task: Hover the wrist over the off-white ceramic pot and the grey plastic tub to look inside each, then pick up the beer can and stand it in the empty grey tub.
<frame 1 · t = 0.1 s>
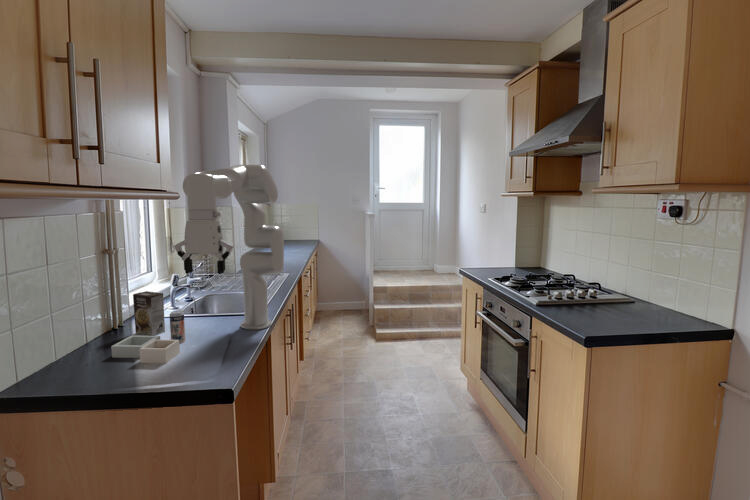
hand: (205, 273, 117), 31 cm above the counter, tool pointing down, fingers open, 9 cm apart
walnut block: (160, 357, 129), point 1 cm above the counter, touching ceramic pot
grey tub: (137, 353, 134), on the counter
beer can: (178, 344, 144), on the counter
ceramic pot: (160, 360, 129), on the counter
coffee box: (150, 333, 155), on the counter
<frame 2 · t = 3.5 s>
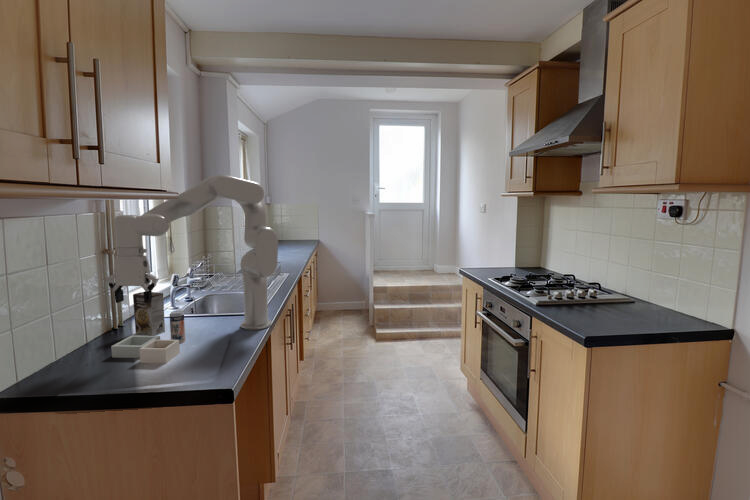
hand: (133, 302, 132), 18 cm above the counter, tool pointing down, fingers open, 9 cm apart
nothing on the counter moved.
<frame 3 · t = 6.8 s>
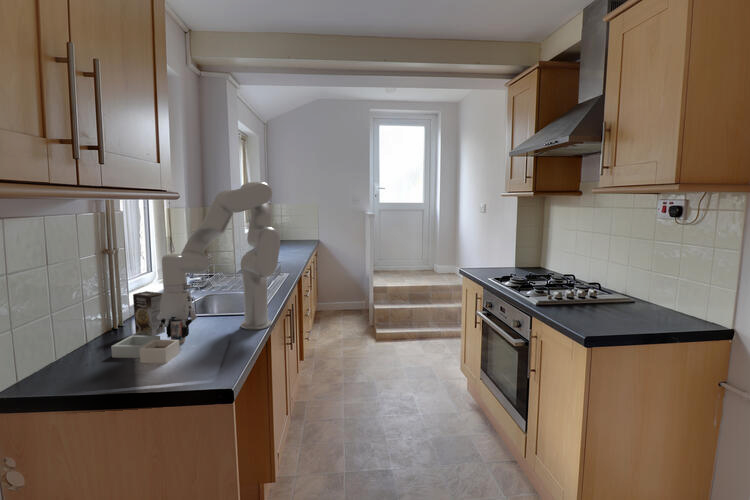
hand: (177, 335, 143), 3 cm above the counter, tool pointing down, fingers closed on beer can, 4 cm apart
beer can: (178, 344, 144), on the counter, touching gripper
everything else where it was.
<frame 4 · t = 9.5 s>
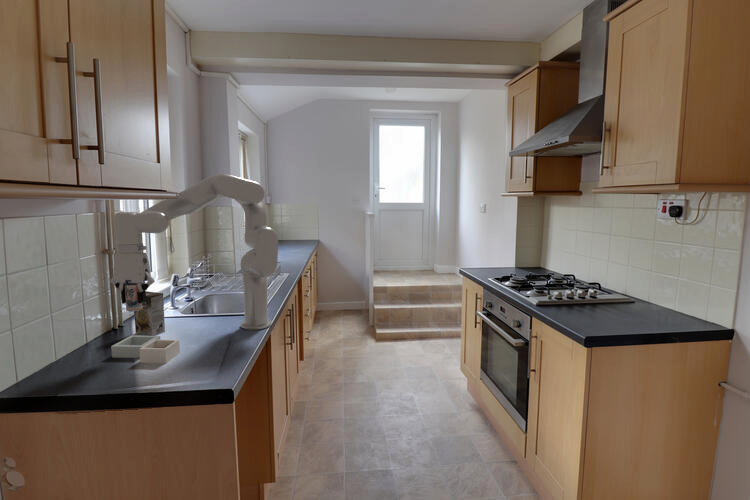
hand: (133, 301, 132), 18 cm above the counter, tool pointing down, fingers closed on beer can, 4 cm apart
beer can: (134, 310, 132), point 15 cm above the counter, touching gripper
everything else where it was.
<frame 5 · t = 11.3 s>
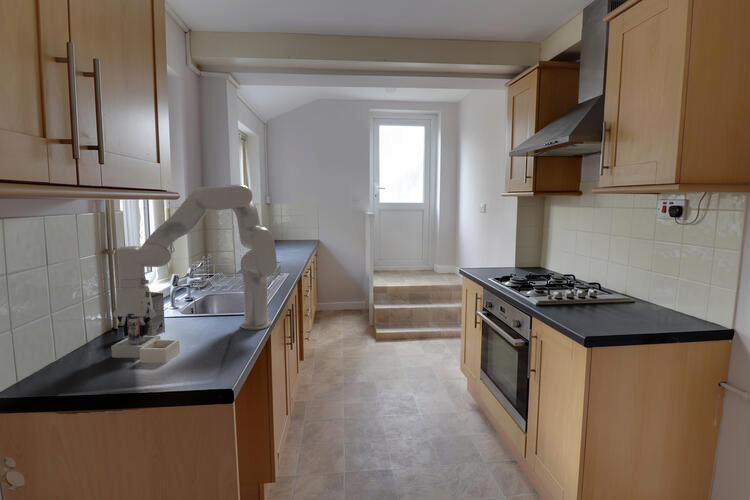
hand: (136, 334, 133), 7 cm above the counter, tool pointing down, fingers closed on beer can, 4 cm apart
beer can: (136, 343, 133), point 4 cm above the counter, touching gripper
everything else where it was.
when the fingers open (5 cm above the counter, at t = 12.6 s): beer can drops 1 cm, resting on grey tub.
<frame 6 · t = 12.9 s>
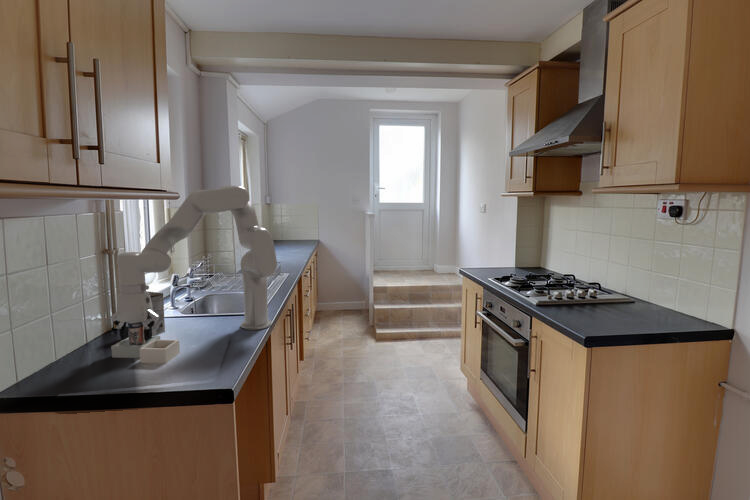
hand: (136, 338, 133), 5 cm above the counter, tool pointing down, fingers open, 7 cm apart
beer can: (138, 352, 134), resting on grey tub
everything else where it was.
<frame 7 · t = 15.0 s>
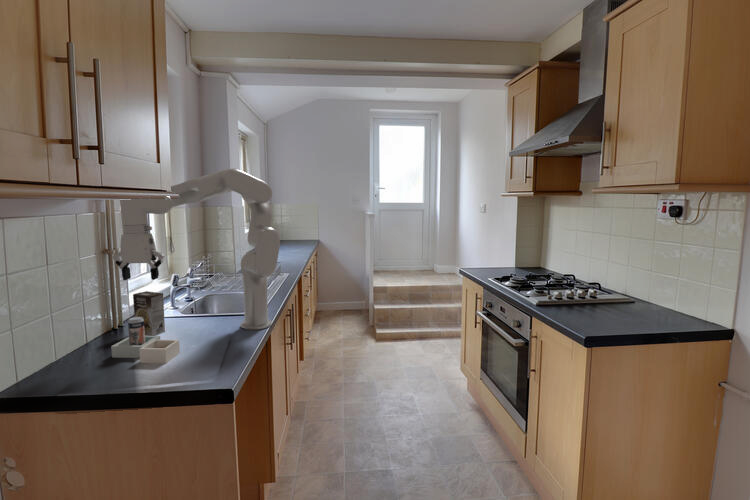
hand: (141, 279, 134), 25 cm above the counter, tool pointing down, fingers open, 9 cm apart
nothing on the counter moved.
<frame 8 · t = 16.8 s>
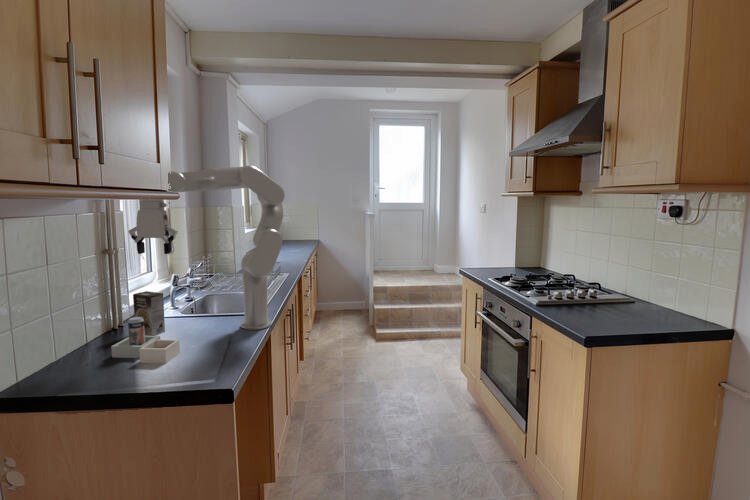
hand: (154, 253, 142), 33 cm above the counter, tool pointing down, fingers open, 9 cm apart
nothing on the counter moved.
at the end: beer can 0.2 cm from the grey tub (horizontally); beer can resting on grey tub; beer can tilted 0° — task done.
